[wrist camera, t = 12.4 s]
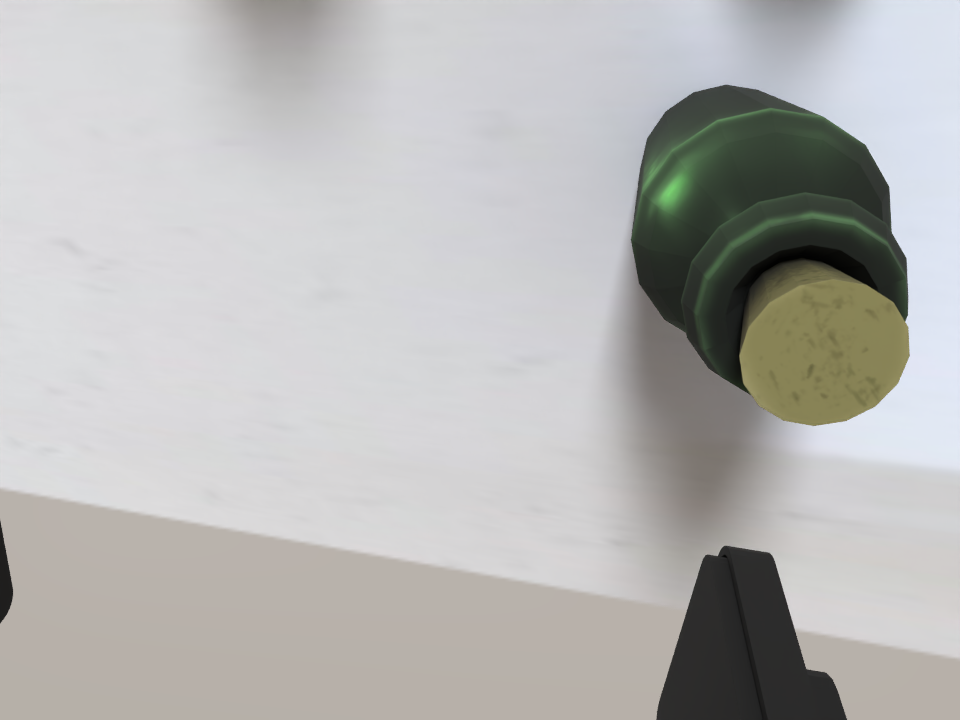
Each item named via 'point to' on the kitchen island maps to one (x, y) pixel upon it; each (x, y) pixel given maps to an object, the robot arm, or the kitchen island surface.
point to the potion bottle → (774, 253)
